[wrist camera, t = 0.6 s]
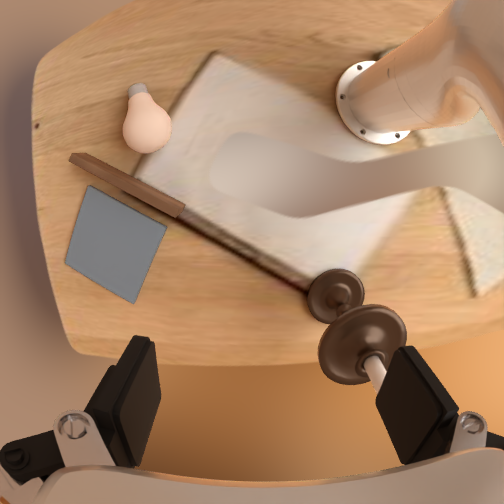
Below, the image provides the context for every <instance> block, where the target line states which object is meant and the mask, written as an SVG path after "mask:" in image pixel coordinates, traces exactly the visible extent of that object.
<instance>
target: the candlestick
mask: <svg viewBox="0 0 504 504" xmlns="http://www.w3.org/2000/svg"><path fill="white" fill-rule="evenodd" d="M364 294H365V293H364V287H363V284H362V282H361V281H360V279H359V278H358V277H357V276H356V275H355V274H354V273H352V272H351V271H348V270H345V269H333V270H329V271H326V272H324V273H322V274H321V275H320V276H318V277H317V278H316V279H315V280H314V281H313V283H312V284H311V286H310V288H309V290H308V294H307V303H308V307H309V310H310V312H311V314H312V315H313V316H314V317H315V318H316V319H317V320H318V321H320V322H322V323H326V324H330V325H329V326H328V328H327V329H326V330H325V332H324V333H323V335H322V337H321V339H320V342H319V346H318V359H319V363H320V366H321V369H322V371H323V373H324V374H325V375H326V376H327V377H328V378H329V379H331V380H333V381H334V382H337V383H339V384H345V385H357V384H363V383H366V382H369V381H371V382H372V384H373V387H374V389H375V391H376V393H377V394H378V392H379V390H380V387H381V385H382V382H383V380H384V377H385V375H386V372H387V370H388V367H389V365H390V362H391V359H392V356H393V354H394V352H395V351H396V350H397V349H398V348H399V347H401V346H405V345H406V340H407V331H406V327H405V324H404V323H403V321H402V319H401V318H400V317H399V316H398V315H397V314H396V313H395V311H393V310H392V309H390V308H388V307H386V306H382V305H375V304H370V305H362V304H363V301H364Z"/></svg>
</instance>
